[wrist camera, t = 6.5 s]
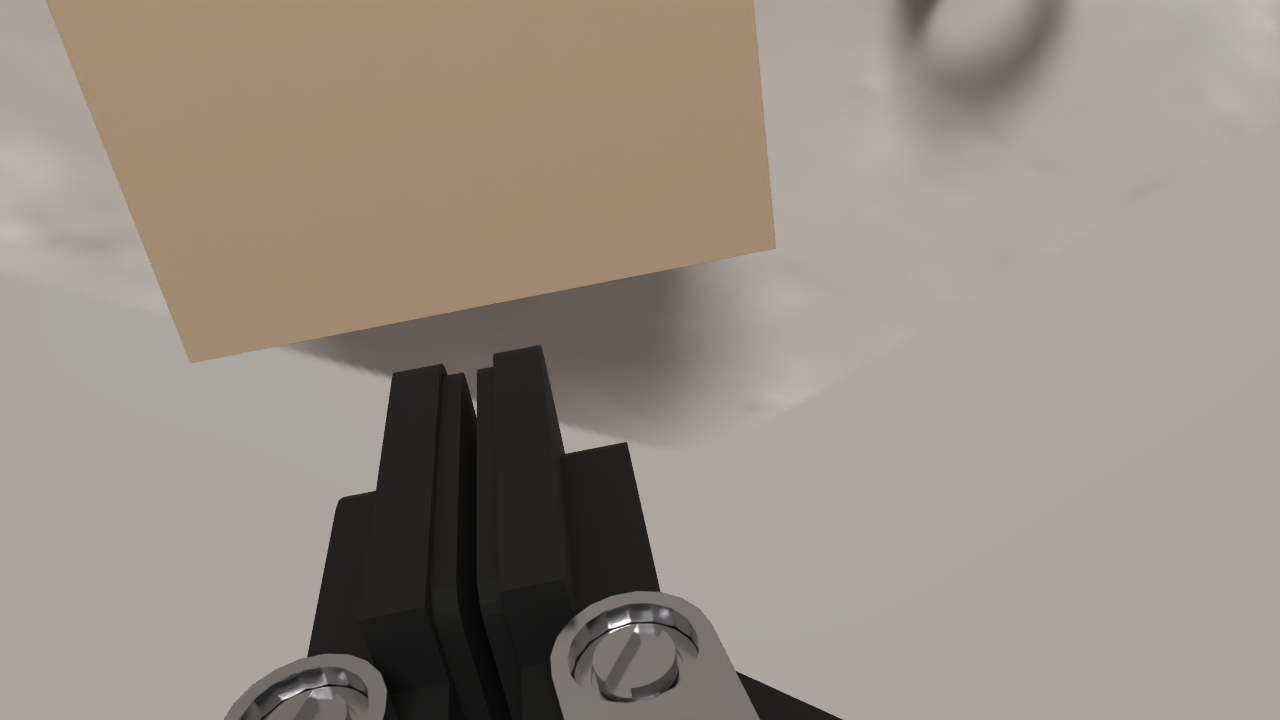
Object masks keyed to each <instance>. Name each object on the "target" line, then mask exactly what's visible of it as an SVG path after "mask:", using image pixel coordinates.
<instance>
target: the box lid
mask: <svg viewBox="0 0 1280 720" xmlns="http://www.w3.org/2000/svg"><path fill="white" fill-rule="evenodd" d="M46 2H47V4H48V7H49V9H50V12H51V14H52V17H53V19H54V22H55V24H56V27H57V29H58V32H59V34H60V37H61V39H62V42H63V44H64V47H65V49H66V52H67V54H68V57H69V59H70V62H71V64H72V67H73V69H74V72H75V74H76V77H77V79H78V82H79V85H80V87H81V90H82V92H83V95H84V97H85V100H86V102H87V105H88V107H89V110H90V112H91V115H92V117H93V120H94V122H95V125H96V127H97V130H98V132H99V135H100V137H101V140H102V142H103V145H104V147H105V150H106V152H107V155H108V157H109V160H110V162H111V165H112V167H113V170H114V172H115V175H116V177H117V180H118V183H119V185H120V188H121V190H122V193H123V195H124V198H125V200H126V203H127V205H128V208H129V210H130V213H131V215H132V218H133V220H134V223H135V225H136V228H137V230H138V233H139V235H140V238H141V240H142V243H143V245H144V248H145V250H146V253H147V255H148V258H149V260H150V263H151V265H152V268H153V270H154V273H155V275H156V278H157V281H158V283H159V286H160V288H161V291H162V293H163V296H164V298H165V301H166V303H167V306H168V308H169V311H170V313H171V316H172V318H173V321H174V323H175V326H176V328H177V331H178V333H179V336H180V338H181V341H182V343H183V346H184V348H185V351H186V353H187V356H188V358H189V361H190V363H194V362H199V361H204V360H209V359H214V358H219V357H224V356H230V355H235V354H240V353H245V352H250V351H255V350H260V349H266V348H271V347H276V346H281V345H286V344H291V343H296V342H301V341H307V340H312V339H317V338H322V337H327V336H332V335H337V334H342V333H347V332H352V331H358V330H363V329H368V328H373V327H378V326H383V325H388V324H393V323H398V322H403V321H409V320H414V319H419V318H424V317H429V316H434V315H439V314H444V313H449V312H455V311H460V310H465V309H470V308H475V307H480V306H485V305H490V304H495V303H500V302H506V301H511V300H516V299H521V298H526V297H531V296H536V295H541V294H546V293H551V292H557V291H562V290H567V289H572V288H577V287H582V286H587V285H592V284H597V283H603V282H608V281H613V280H618V279H623V278H628V277H633V276H638V275H643V274H648V273H654V272H659V271H664V270H669V269H674V268H679V267H684V266H689V265H694V264H699V263H705V262H710V261H715V260H720V259H725V258H730V257H735V256H740V255H745V254H751V253H756V252H761V251H766V250H771V249H776V242H775V231H774V220H773V209H772V198H771V188H770V177H769V166H768V155H767V144H766V133H765V122H764V111H763V100H762V89H761V78H760V67H759V56H758V45H757V34H756V24H755V13H754V2H753V0H46Z"/></svg>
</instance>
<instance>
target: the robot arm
mask: <svg viewBox="0 0 1280 720" xmlns="http://www.w3.org/2000/svg"><path fill="white" fill-rule="evenodd" d="M493 366H494V367H490V368H484V369H479V370H477V418H476V414H475V410H474V407H473V403H472V399H471V395H470V391H469V387H468V384H467V381H466V378H465V375H464V373H458V374H453V375H447V372H446V370H445V367H444V366H443V364H438V365H433V366H428V367H423V368H417V369H412V370H407V371H402V372H396V373H393V377H392V382H391V389H390V396H389V404H388V410H387V417H386V425H385V432H384V439H383V446H382V453H381V460H380V467H379V474H378V481H377V488H376V491H373V492H368V493H363V494H358V495H352V496H347V497H343V498H342V499H340V500H339V502H338V505H337V507H336V511H335V517H334V522H333V527H332V532H331V537H330V542H329V547H328V553H327V558H326V563H325V568H324V573H323V579H322V584H321V589H320V594H319V599H318V604H317V609H316V615H315V620H314V625H313V630H312V635H311V640H310V646H309V651H308V656H307V658H303V659H299V660H297V661H294V662H292V663H290V664H287V665H285V666H283V667H280V668H278V669H276V670H274V671H273V672H271V673H270V674H268V675H267V676H265V677H264V678H262V679H261V680H259V681H258V682H256V683H255V684H253V685H252V686H251V687H250V688H249V689H248V690H247V691H246V692H245V693H244V694H243V695H242V696H241V697H240V698H239V699H238V700H237V701H236V702H235V703H234V704H233V706H232V707H231V709H230V710H229V712H228V714H227V715H226V717H225V718H224V720H842V719H840V718H838V717H836V716H834V715H831V714H829V713H827V712H825V711H822V710H820V709H818V708H816V707H814V706H812V705H809V704H807V703H805V702H803V701H800V700H798V699H796V698H794V697H792V696H789V695H787V694H785V693H783V692H780V691H779V690H776V689H774V688H772V687H770V686H767V685H765V684H763V683H761V682H759V681H757V680H754V679H752V678H750V677H748V676H745V675H743V674H741V673H739V672H737V671H735V669H734V667H733V665H732V663H731V661H730V660H729V658H728V655H727V653H726V651H725V649H724V647H723V645H722V643H721V642H720V639H719V637H718V635H717V633H716V631H715V630H714V628H713V626H712V624H711V623H710V621H709V620H708V619H707V618H706V616H705V615H704V614H703V613H702V611H701V610H700V609H699V608H697V607H696V606H694V605H692V604H691V603H689V602H688V601H686V600H684V599H683V598H680V597H677V596H673V595H669V594H666V593H662V592H660V588H659V584H658V579H657V575H656V571H655V566H654V561H653V557H652V552H651V548H650V543H649V539H648V534H647V530H646V525H645V521H644V516H643V512H642V508H641V503H640V499H639V494H638V490H637V485H636V480H635V476H634V471H633V467H632V463H631V458H630V453H629V450H628V445H627V442H624V443H619V444H614V445H609V446H604V447H599V448H594V449H588V450H583V451H579V452H573V453H568V454H565V452H564V447H563V442H562V438H561V433H560V428H559V424H558V419H557V414H556V410H555V405H554V401H553V396H552V391H551V387H550V382H549V377H548V373H547V368H546V364H545V359H544V355H543V351H542V347H541V345H539V346H533V347H528V348H523V349H517V350H512V351H507V352H502V353H496V354H494V355H493Z"/></svg>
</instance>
